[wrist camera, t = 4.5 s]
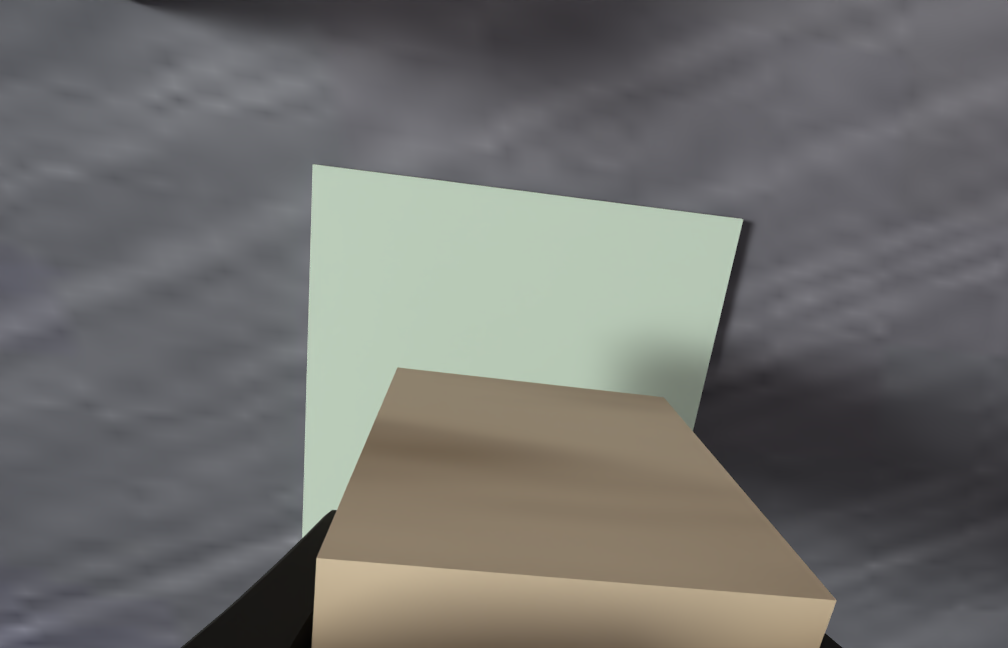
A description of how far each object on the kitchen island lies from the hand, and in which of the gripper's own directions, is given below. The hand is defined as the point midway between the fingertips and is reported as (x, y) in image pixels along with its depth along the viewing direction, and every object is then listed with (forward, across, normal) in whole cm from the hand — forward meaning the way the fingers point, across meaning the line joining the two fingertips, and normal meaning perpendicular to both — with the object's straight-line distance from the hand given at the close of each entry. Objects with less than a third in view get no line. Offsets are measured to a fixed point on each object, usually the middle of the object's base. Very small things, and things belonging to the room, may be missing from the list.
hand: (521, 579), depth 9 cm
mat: (+8, 0, 0) cm, 8 cm away
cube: (+2, 0, 0) cm, 2 cm away
